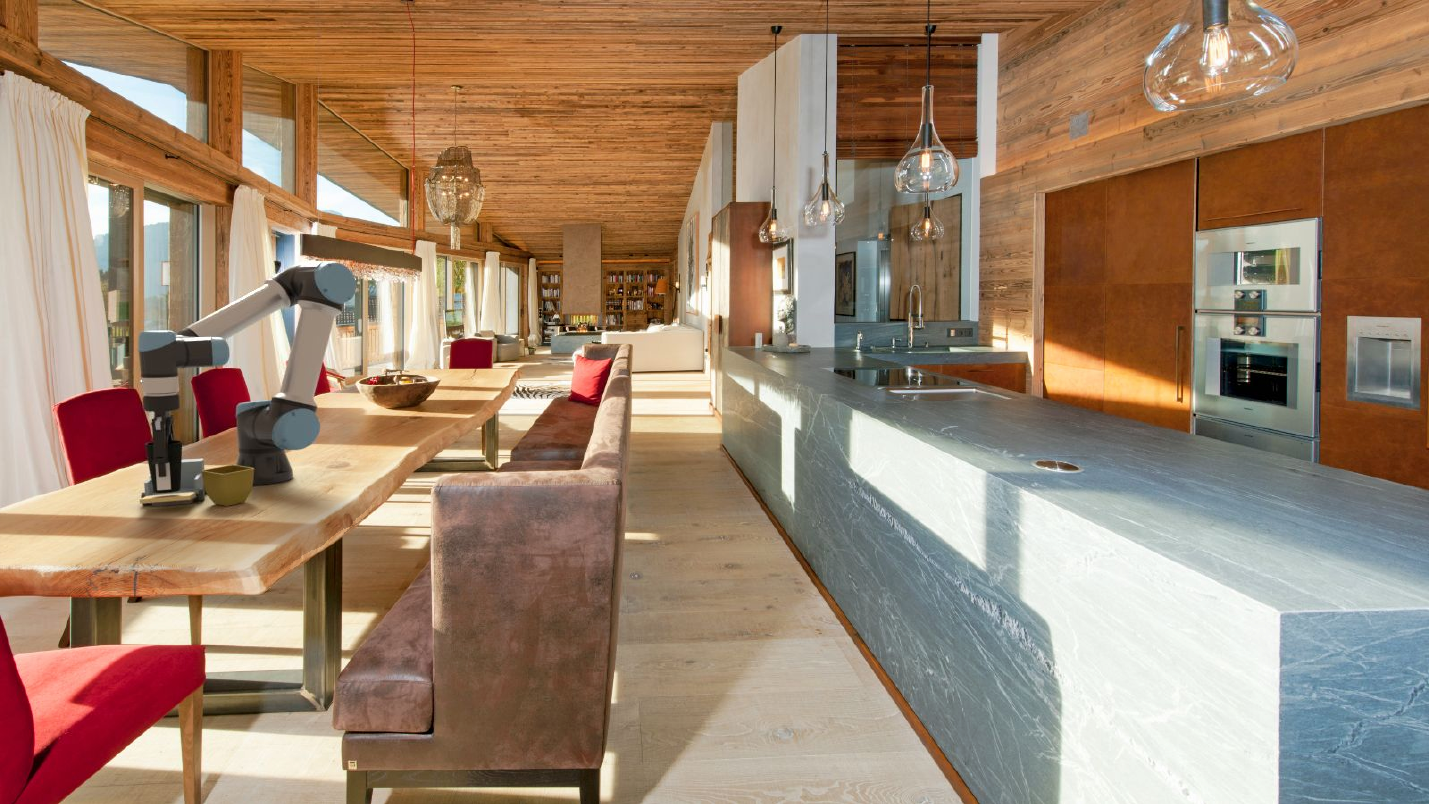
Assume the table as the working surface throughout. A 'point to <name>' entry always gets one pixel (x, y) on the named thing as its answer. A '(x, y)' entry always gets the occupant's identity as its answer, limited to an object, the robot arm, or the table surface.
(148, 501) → the panel
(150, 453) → the cup
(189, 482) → the truck
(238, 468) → the flower pot
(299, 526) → the table surface
